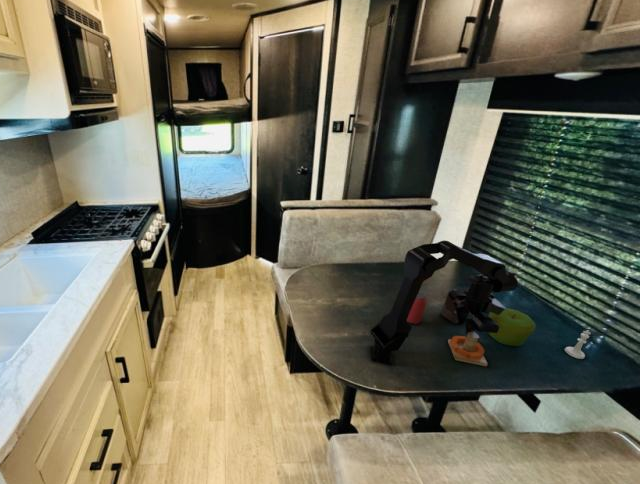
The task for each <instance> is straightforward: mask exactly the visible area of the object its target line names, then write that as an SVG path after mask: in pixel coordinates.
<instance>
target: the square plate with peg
mask: <svg viewBox="0 0 640 484" xmlns="http://www.w3.org/2000/svg"><path fill="white" fill-rule="evenodd" d="M466 337H467V338H466V340H465V343H463V342H457V344H458V345H459V347H460V348H462V349H464V350H466V351H468V352H477V351H476V350H475V346H476V344H477V343H478V341H479V339H480V335H479V334H478V333H477V332H475V331H473V332H469V333H468V334H466ZM451 339H452V338H449V339H448V340H447V342H448V345H449V348H450V350H451V353H452V356H453V358H454V361H458V362H464V363H467V364H473V365H476V366H477V365H478V366H483V367H487V366H488V362H487V360H486V358H485V356H484V355H483V356H482V357H481V359H469V358H468V357H467V358H465V357H463V356H461V355H459V354H458V353H456V351H454V350H453V349H452V347H451V346H450V341H451Z"/></svg>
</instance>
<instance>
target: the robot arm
mask: <svg viewBox="0 0 640 484" xmlns="http://www.w3.org/2000/svg"><path fill="white" fill-rule="evenodd" d="M435 254H436V255H437V254H442V256H441V257H438V258H437V257H435V256H433V255H435ZM451 260H455V261H457V262H460V263H462V264H465V265H466V266H468V267H471V268H472V269H473V270H475V271H477V272H478V273H480V274H476V273H475V274H473V275H470V276H468V277H467V278H466V279H467V280H468V281H469V282H471V283H470V286H469V288H468V289H466V290H465V289H458V290H452V289H451V290H452V291H450V290H449V291H450V292H449V291H448V292H449V295H448V294H447V295H448V296H449V298H450V299H451V300H457V301H456V302H454V303H453V305H454V307H455V310H456V314H457V318H458V325H459V326H463V325H464V323H465V334H466V335H468V333H469V332H475V331H476V332H479V333H488V334H489V333H497V332H498V330H499V328H500V327H499V326H498V324H497V323H496V322H495V321H494V320H493V319H492V318H491V317H489V316H487V315H484V314H488V315H489V314H490V312H492V313H495V314H496V315H500V314H501V313H502V312H503V311H504V310H505V309H506V308H507V307H505V305H503V304H502V303H501V302H500V301H499V300H498V299H496V298H495V297H496V296H495V295H494V294H493V293H496V294H497V293H505V292H512V291H516V290H517V289H518V288H519V281H518V279H517V277H516V275H517V274H516V272H514V271H512V270H510V269H509V270H506V268H507V266H506V264H505V263H503V262H501V261H499V260H498V259H496V258H494V257H491V256H489V255H488V254H485V253H474V252H472V251H469V250H467V249H465V248H463V247H461V246H458V245H456V244H454V243H452V242H451V241H449V240H441V241H438V242H434V243H423V244H421V245H418V246H416V247H413V248H411V249H409V250H408V251H407V252H406V254H405V257H404V262H403V269H404V277H403V280H402V282H401V285H400V288H399V289H398V293H397V294H396V296H395V297H396V298H395V300H394V303H393V305H392V308H391V310H390V312H388V313H387V314H385V315H383V317H382V318H381V320H380V321H379V322H378V323H377V324H376V325H374V326H373V327H372V328H371V329H369V332H370V335H371V336H372V337H373V338H374V341H373V345H370V347H369V349H370V350H369V351H370V361H372V362H376V363H381V364H385V365H390V366H392V365H393V359H392V353H393V352H397V351H399V350H400V348H401V347H402V346H403V344H404V343H405V341H406V339H407V338H409V334H410V332H411V331H412V325H411V324H409V322H407V318H408V315H409V313H410V311H411V308H412V306H413V304H414V301H415V299H416V297H417V295H418V292H419V290H420V291H421V287H422V285H423V283H424V282H425V281H426V280H428V279H430V278H432V277H433V275H434V274H435V272H436V271H439V270H441V269H444V268H445V267H446V266H447V265H448V263H449V262H450V261H451ZM483 313H484V314H483ZM469 314H470V315H471V317H472V318H468V316H469Z"/></svg>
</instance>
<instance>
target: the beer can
mask: <svg viewBox="0 0 640 484" xmlns="http://www.w3.org/2000/svg"><path fill="white" fill-rule="evenodd" d="M427 300H428V299H427V294H426V293H425V292H424V291H422V290H421V289H420V290H419V292H418V295H417V297H416V299H415V301H414V304H413V306H412V308H411V311H410V313H409V315H408V318H407V322H408V324H409V323H410V324H419V323H421V321H422V318H423V315H424V312H425V308H426V305H427Z"/></svg>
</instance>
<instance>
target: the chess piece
mask: <svg viewBox="0 0 640 484" xmlns="http://www.w3.org/2000/svg"><path fill="white" fill-rule="evenodd" d="M591 334H592V333H591V332H590V330H588V329H586V330H582V332H581V333H580V338H579V337H578V338H577V339H576V340H577V341H578V342H577V343H576V344H575V345H574V346H566V347H565V348H564V351H565V353H566V354H568V355H569V356H570V357H573V358H575V359H577V360H579V359H580V360H583V359H585V357H586V354H585V353H584V351H582V347H583V345H584V344H587V340H588V339H590V335H591Z"/></svg>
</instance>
